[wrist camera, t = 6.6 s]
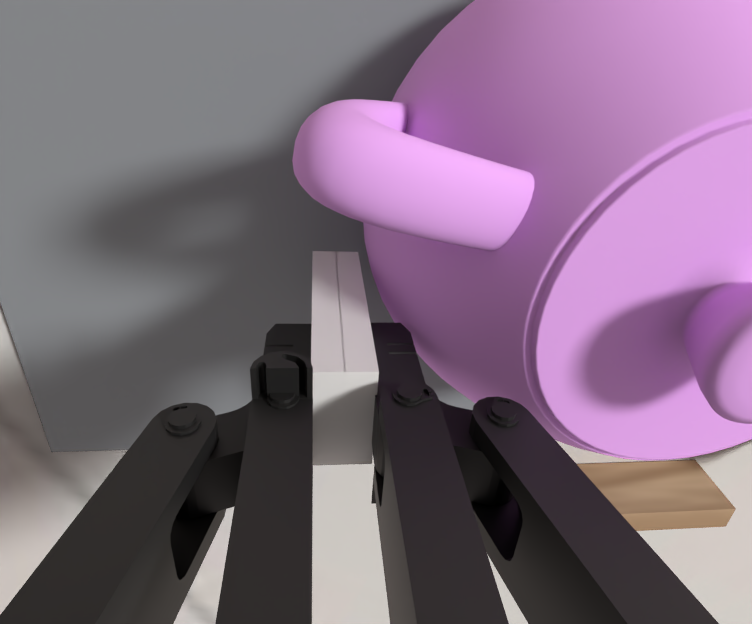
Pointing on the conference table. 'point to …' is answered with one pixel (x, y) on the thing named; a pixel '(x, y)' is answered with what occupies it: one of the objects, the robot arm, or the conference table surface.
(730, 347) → the teapot
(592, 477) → the bay
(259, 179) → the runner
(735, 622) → the conference table surface
